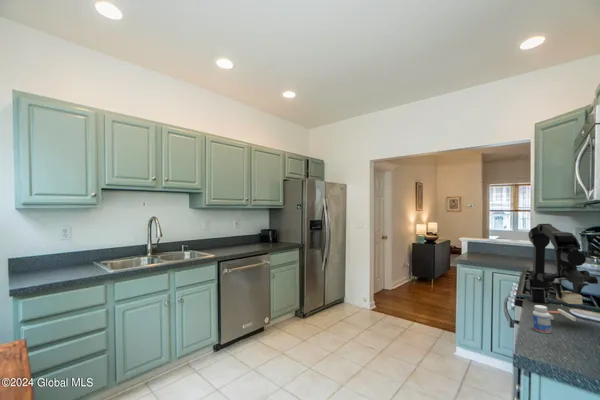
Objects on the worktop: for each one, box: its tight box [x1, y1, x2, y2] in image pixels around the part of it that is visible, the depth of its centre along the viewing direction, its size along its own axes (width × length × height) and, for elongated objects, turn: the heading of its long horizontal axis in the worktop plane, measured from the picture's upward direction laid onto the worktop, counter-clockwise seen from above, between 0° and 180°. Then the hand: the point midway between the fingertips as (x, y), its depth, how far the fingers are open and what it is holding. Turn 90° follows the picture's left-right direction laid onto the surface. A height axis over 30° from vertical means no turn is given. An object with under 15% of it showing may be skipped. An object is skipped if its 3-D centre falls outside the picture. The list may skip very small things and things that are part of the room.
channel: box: [547, 308, 577, 322], centre depth 129 cm, size 12×9×2 cm
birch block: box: [555, 290, 583, 305], centre depth 119 cm, size 7×5×4 cm
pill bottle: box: [532, 304, 552, 334], centre depth 114 cm, size 6×5×10 cm
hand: (568, 298), depth 119 cm, fingers closed on birch block, 5 cm apart
